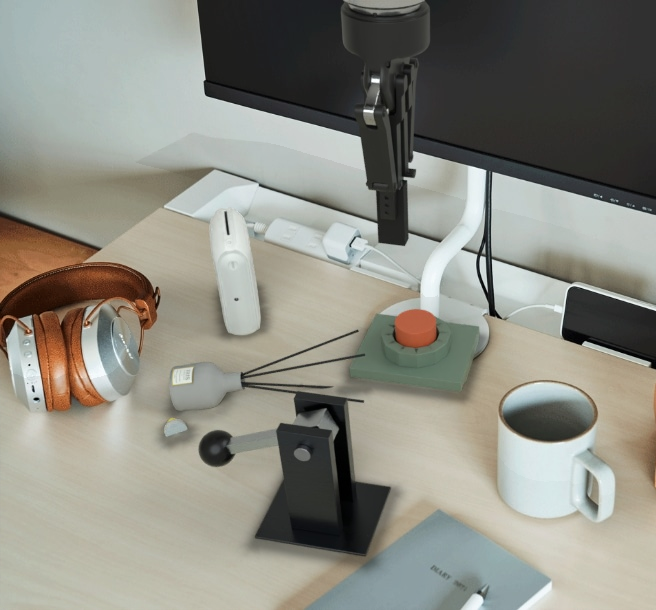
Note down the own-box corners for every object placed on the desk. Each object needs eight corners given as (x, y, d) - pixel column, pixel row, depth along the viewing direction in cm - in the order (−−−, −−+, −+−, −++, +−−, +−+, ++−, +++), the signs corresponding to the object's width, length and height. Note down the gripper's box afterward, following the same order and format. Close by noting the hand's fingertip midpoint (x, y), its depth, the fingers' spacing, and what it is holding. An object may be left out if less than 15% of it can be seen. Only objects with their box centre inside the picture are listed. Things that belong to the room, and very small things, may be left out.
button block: (350, 384, 98) (348, 354, 96) (377, 328, 106) (375, 300, 104) (461, 399, 96) (460, 369, 94) (479, 341, 104) (479, 313, 102)
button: (390, 346, 98) (389, 330, 97) (401, 321, 101) (400, 306, 100) (431, 351, 97) (430, 335, 96) (440, 326, 101) (440, 311, 99)
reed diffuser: (163, 339, 94) (359, 315, 94) (185, 370, 99) (369, 347, 100) (157, 432, 88) (364, 406, 89) (180, 458, 94) (374, 434, 95)
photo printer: (264, 334, 105) (250, 241, 98) (226, 340, 104) (208, 247, 97) (256, 285, 113) (242, 196, 106) (220, 290, 112) (204, 200, 105)
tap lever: (204, 477, 80) (185, 450, 79) (219, 451, 83) (201, 425, 81) (331, 454, 75) (313, 426, 74) (343, 428, 78) (326, 400, 76)
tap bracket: (256, 545, 80) (235, 438, 73) (288, 479, 87) (272, 375, 79) (366, 564, 79) (356, 456, 71) (391, 495, 85) (384, 390, 78)
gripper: (409, 30, 72) (414, 281, 86) (445, -18, 82) (444, 213, 96) (317, 22, 73) (336, 271, 87) (364, -24, 83) (375, 205, 97)
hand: (393, 240), depth 91 cm, fingers closed
